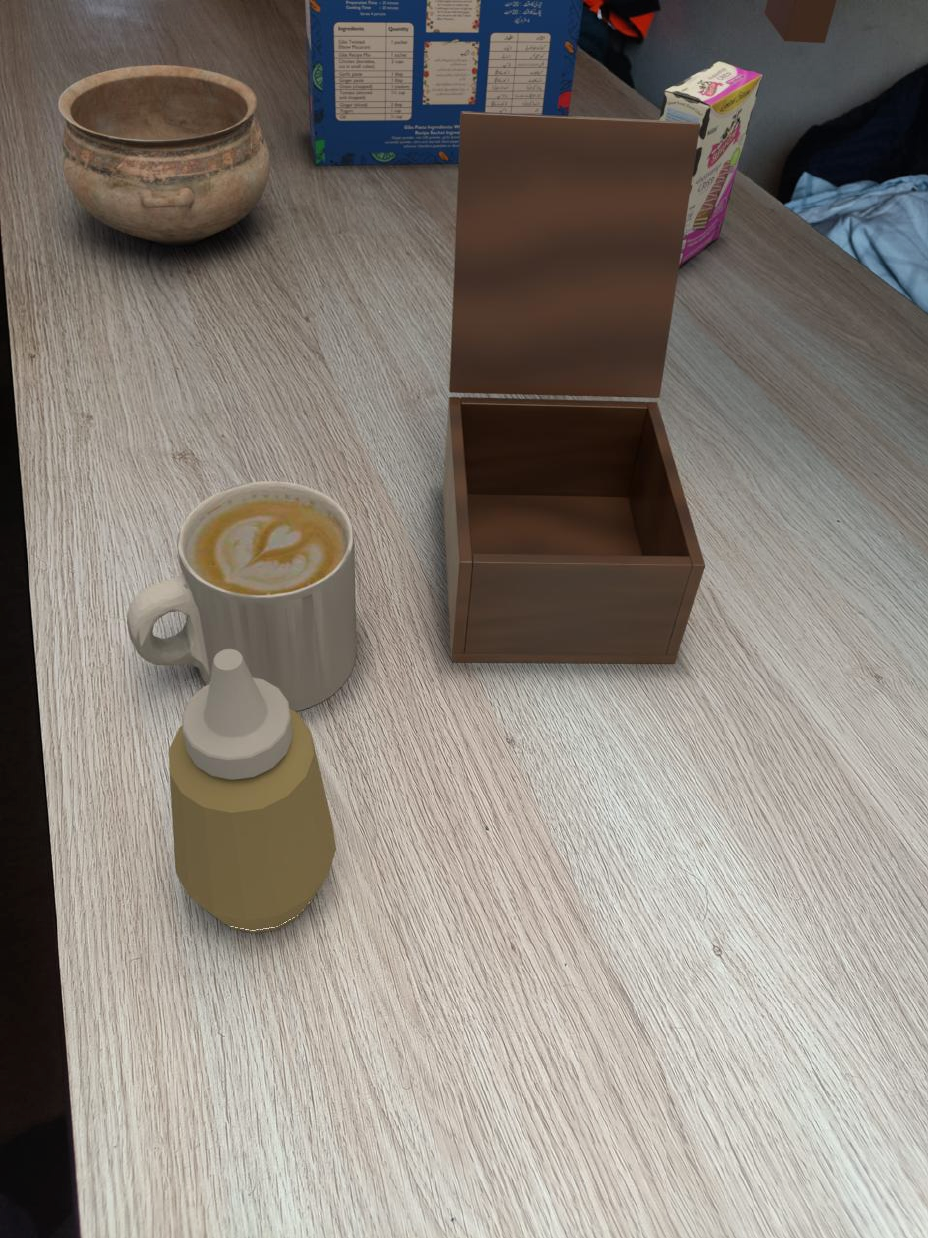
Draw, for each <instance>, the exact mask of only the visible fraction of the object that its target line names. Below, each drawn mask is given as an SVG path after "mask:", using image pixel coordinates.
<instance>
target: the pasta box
mask: <svg viewBox="0 0 928 1238" xmlns="http://www.w3.org/2000/svg"><path fill="white" fill-rule="evenodd" d="M583 6H584V0H304V13H305V14H304V15H305V16H304V17H305V37H306V40H305V41H306V62H307V63H306V65H307V66H306V67H307V88H308V89H307V90H308V91H307V92H308V109H309V111H308V112H309V113H308V115H309V137H310V141H311V147H312V151H313V156H314V162H315V165H316V166H317V167H320V166H321V167H322V166H323V167H324V166H379V165H381V166H383V165H384V166H386V165H387V166H388V165H389V166H390V165H391V166H392V165H445V164H446V165H449V164H450V165H451V164H455V165H457V164H458V163H459V139H460V116H461V111H471V112H492V113H514V114H535V115H557V116H570V107H571V100H572V91H573V84H574V77H575V70H576V61H577V55H578V54H577V52H578V45H579V37H580V30H581V24H582V23H581V21H582V15H583Z"/></svg>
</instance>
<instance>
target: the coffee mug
mask: <svg viewBox="0 0 928 1238" xmlns="http://www.w3.org/2000/svg"><path fill="white" fill-rule="evenodd" d="M176 542H177V544H176V547H177V556H178V561H179V565H180V569H181V574H180V575H177V576H176V577H172V578H168V579H166V580H162V581H158V582H156V583H153V584H151V585H149V586H147V587H145V588H143V589H142V590H141V591H139V592H138V593H137V594H135V596H134V598H132V600H131V602H130V603H129V606H128V608H127V609H128V610H127V614H126V624H127V631H128V634H129V638H130V641H131V643H132V645H133V647H134V649H135V651H136V652H137V653H138V655H139V656H140V657H141V658H142V659H143V660H144V661H146V662H148V663H150V664H152V665H154V666H161V667H162V666H163V667H173V666H185V665H187V666H194V667H196V668H197V669H198V671H199V674H200V676H201V678H202V682H204V684H205V686H206V685H208V684H210V683H209V682H210V678H211V672H212V666H213V660H214V657H215V655H216V654H217V653H218V652H220V651H222V650H225V649H234V650H237V651H238V652H240V653H241V655H242V656H243V658H244V661H245V663H246V665H247V667H248V669H249V671H250V673H251V675H252V677H253V678H258V679H263V680H265V681H267V682H268V683H270V684H272V685H274V686H275V687H277V688H279V689H280V691H281V692H282V694H283V695H284V696H285V698H286V699H287V701H288V702H289V708H290V709H291V710H293V711H295V712H296V713H297V712H300V711H304V710H307V709H309V708H312V707H314V706H317V705H319V704H321V703H322V702H325V701H326V700H327V699H329V698H331V697H332V696H333V695H334V694H336V693H337V692H338V691H339V690H340V689H341V688H342V687H343V686H344V685H345V683H346V682H347V680H348V679H349V677H350V676H351V674H352V672H353V670H354V668H355V664H356V661H357V660H356V658H357V608H356V607H357V605H356V603H357V602H356V552H355V551H356V550H355V549H356V547H355V544H356V543H355V533H354V529H353V524H352V521H351V520H350V518H349V515H348V514H347V513H346V510H345V509H344V508H343V507H342V506H341V505H340V504H339V503H338V502H337V501H335V500H334V499H332V497H330V496H329V495H326V494H325V493H323V492H322V491H319V490H317V489H314V488H312V487H309V486H306V485H303V484H299V483H294V482H288V481H280V480H279V481H277V480H274V481H273V480H272V481H271V480H264V481H252V482H247V483H242V484H238V485H233V486H231V487H228V488H226V489H223V490H221V491H218V492H215V493H214V494H212V495H211V496H208V497H207V498H205V499H204V500H203V501H201V502H200V503H198V504H197V505H196V506H194V508H193V509H192V510H191V511H190V512H189V513H188V515H187V516H186V517H185V518H184V520H183V522H182V524H181V526H180V527H179V531H178V534H177V541H176ZM176 612H179V613H182V614H184V615H186V617H185V618H186V619H185V620H186V621H185V623H184V625H183V628H182V629H181V630H180V631H179V632H177V633H176V634H175V635H172V636H169V637H166V638H163V637H161V638H160V637H158V636H155V635H154V632H153V631H154V627H155V624H156V623H157V621H158V620H159V619H161V618H162V617H164V616H166V615H167V614H168V613H176ZM208 681H209V682H208Z"/></svg>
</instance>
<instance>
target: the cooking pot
mask: <svg viewBox="0 0 928 1238" xmlns="http://www.w3.org/2000/svg"><path fill="white" fill-rule="evenodd" d="M57 105H58V111H59V112H60V114H61V116H62V117H63V118H64V119H65V122H64V126H63V132H62V138H61V152H60V155H61V156H60V157H61V165H62V172H63V177H64V179H65V181H66V183H67V185H68V187H69V189H70V190H71V192H72V194H73V195H74V197H75V199H76V200H77V202H78V203H79V204H80V205H81V206H82V207H83V208H84V209H85V210H86V211H87V212H88V213H89V214H90V215H91V216H92V217H94V218H95V219H97V220H98V221H100V222H102V223H103V224H105V225H106V226H108V227H110V228H112V229H114V230H116V231H119V232H121V233H124V234H127V235H130V236H132V237H136V238H138V239H143V240H147V241H150V242H152V243H155V244H157V245H158V244H159V245H162V246H170V247H173V246H175V247H177V246H188V245H192V244H196V243H200V242H202V241H203V240H205V239H207V238H209V237H211V236H213V235H216V234H218V233H220V232H222V231H224V230H226V229H228V228H230V227H232V226H234V225H235V224H237V223H238V222H240V221H241V220H242V219H244V218H245V217H246V216H248V215H249V214H250V213H251V212H252V210H253V209H254V208H255V207H256V206H257V204H258V203H259V202H260V200H261V198H262V196H263V193H264V191H265V188H266V186H267V184H268V180H269V177H270V152H269V148H268V145H267V142H266V139H265V136H264V133H263V131H262V129H261V126H260V123H259V122H258V119H257V118H256V115H255V112H256V111H257V108H258V97H257V96H256V93H255V92H254V91H253V89H251V87H250V86H249V85H248V84H246V83H244V82H243V81H242V80H239V79H237V78H235V77H233V76H231V75H228V74H225V73H221V72H219V71H214V70H210V69H205V68H201V67H200V68H199V67H192V66H187V65H186V66H184V65H172V64H171V65H169V64H168V65H167V64H151V65H137V66H126V67H120V68H115V69H109V70H105V71H102V72H97V73H95V74H92V75H89V76H87V77H84V78H82V79H79V80H78V81H76V82H74V83H72V84H71V85H70V86H68V87H67V88H66V89H65V90H64V91H63V92H62V93H61V94H60V96H59V98H58V101H57Z"/></svg>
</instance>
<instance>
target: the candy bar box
mask: <svg viewBox="0 0 928 1238" xmlns="http://www.w3.org/2000/svg"><path fill="white" fill-rule="evenodd" d="M762 78H763V74H762V73H758V72H756V71H753V70H750V69H747V68H743V67H741V66H738V65H733V64H729V63H726V62H723V61H717V62H715V63H713V64H711V65H709V66H708V67H706V68H704V69H702V70H700V71H698V72H697V73H695V74H692V75H691V76H689V77H687V78H686V79H683V80H682V81H680V82H678V83H676V84H674V85H672V86H670V87H669V88H666V89H664V95H663V99H662V105H661V111H660V114H659V119H658V120H665V121H686V122H698V123H700V130H699V137H698V143H697V150H696V157H695V164H694V170H693V177H692V184H691V190H690V197H689V204H688V210H687V217H686V224H685V231H684V237H683V244H682V251H681V257H680V264H679V268H681V267H682V266H684V265H685V264H686V263H687V262H688V261H690V260H691V259H692V258H694V257H695V256H696V255H697V254H699V253H700V252H702V251H703V250H704V249H705V248H706V247H708V246H709V245H710V244H712V243H713V242H715V240H717V239H718V238H720V235H721V232H722V228H723V224H724V220H725V217H726V213H727V210H728V209H727V208H728V207H729V206H728V205H729V202H730V197H731V193H732V189H733V186H734V181H735V178H736V174H737V171H738V167H739V164H740V160H741V156H742V151H743V148H744V145H745V142H746V137H747V135H748V130H749V126H750V123H751V119H752V115H753V111H754V108H755V103H756V100H757V96H758V93H759V88H760V84H761V81H762Z"/></svg>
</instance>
